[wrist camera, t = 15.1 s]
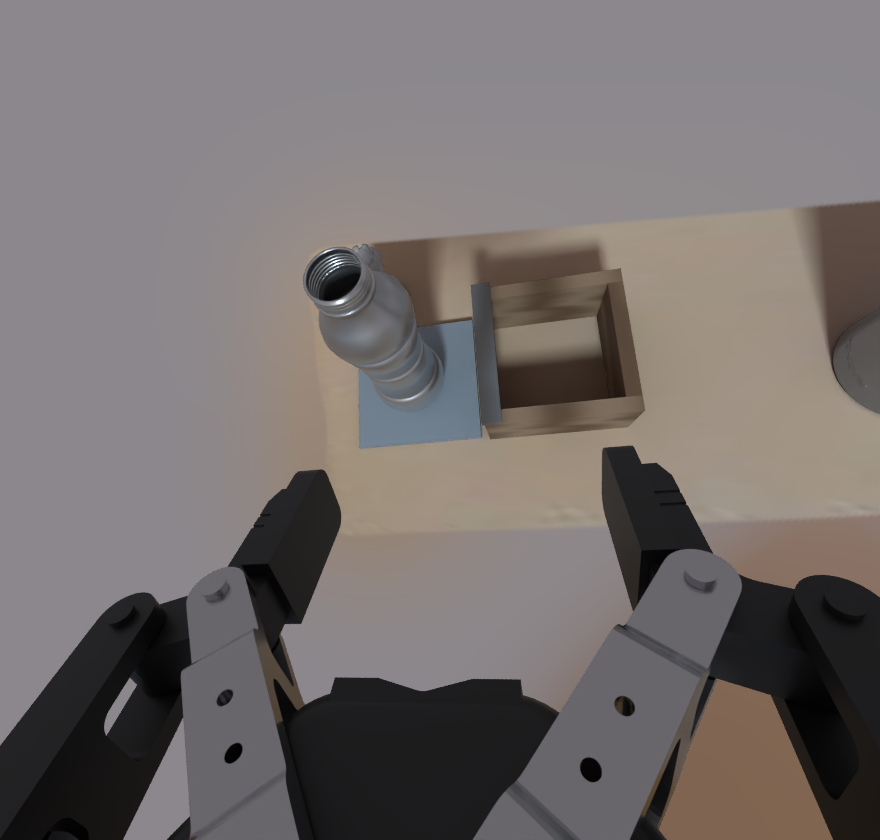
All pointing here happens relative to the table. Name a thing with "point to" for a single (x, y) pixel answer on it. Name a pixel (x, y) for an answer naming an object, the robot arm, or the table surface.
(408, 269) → the table surface
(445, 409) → the mat
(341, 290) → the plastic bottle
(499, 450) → the table surface
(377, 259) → the rook chess piece
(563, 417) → the holder
